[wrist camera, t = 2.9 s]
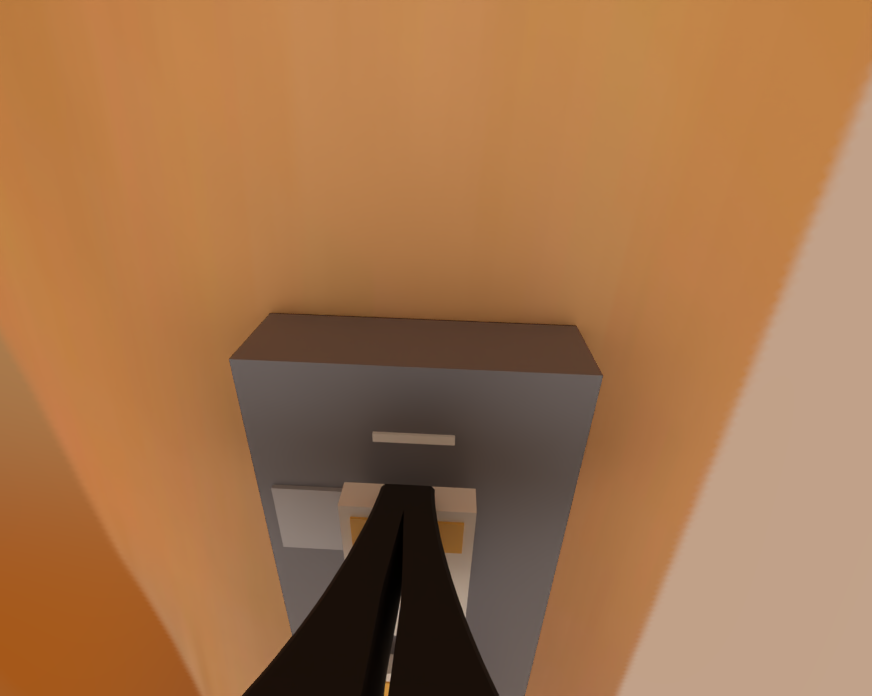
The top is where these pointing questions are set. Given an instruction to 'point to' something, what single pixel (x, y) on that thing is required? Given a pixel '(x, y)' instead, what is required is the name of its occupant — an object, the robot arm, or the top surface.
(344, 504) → the plate
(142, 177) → the top surface
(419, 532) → the robot arm
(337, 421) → the switch strip
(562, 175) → the top surface
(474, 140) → the top surface
